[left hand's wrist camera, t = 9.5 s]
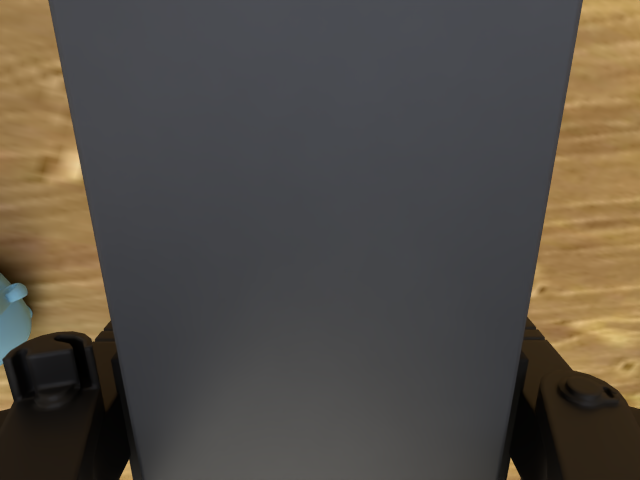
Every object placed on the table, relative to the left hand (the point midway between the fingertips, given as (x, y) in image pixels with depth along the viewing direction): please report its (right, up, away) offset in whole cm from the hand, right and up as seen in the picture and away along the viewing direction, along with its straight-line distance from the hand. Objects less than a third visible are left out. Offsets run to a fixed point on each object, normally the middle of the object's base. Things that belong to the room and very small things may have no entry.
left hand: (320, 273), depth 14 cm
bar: (0, +25, -9) cm, 26 cm away
